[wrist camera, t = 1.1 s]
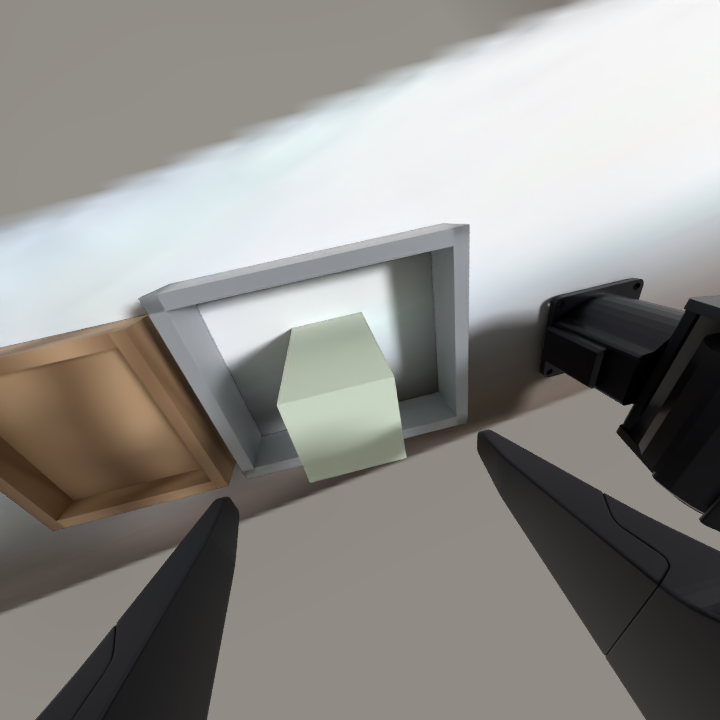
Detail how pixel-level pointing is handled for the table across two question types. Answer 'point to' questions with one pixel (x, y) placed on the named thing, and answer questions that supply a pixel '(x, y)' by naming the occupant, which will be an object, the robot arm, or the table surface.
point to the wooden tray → (102, 425)
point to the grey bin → (192, 337)
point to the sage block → (339, 399)
